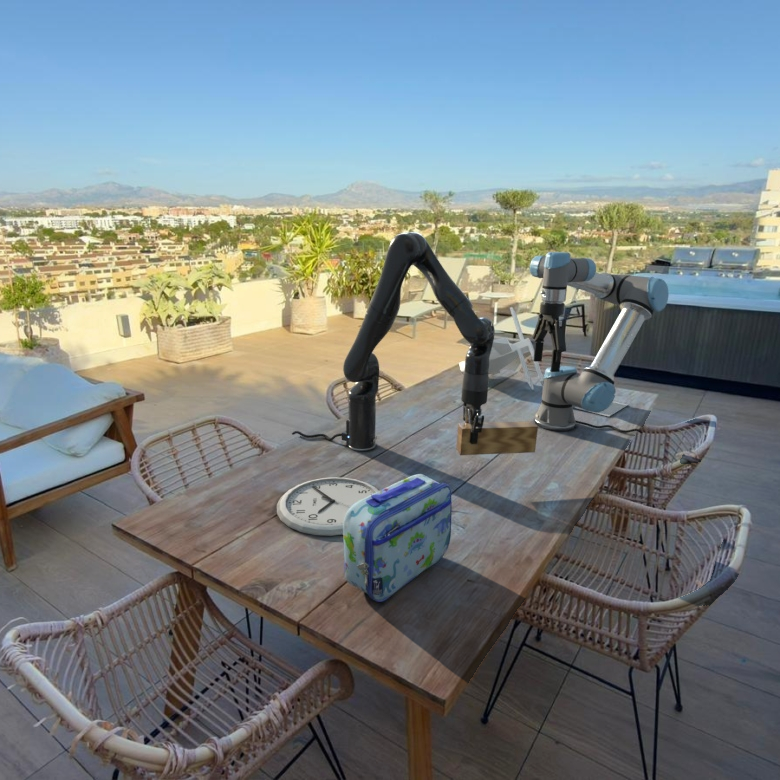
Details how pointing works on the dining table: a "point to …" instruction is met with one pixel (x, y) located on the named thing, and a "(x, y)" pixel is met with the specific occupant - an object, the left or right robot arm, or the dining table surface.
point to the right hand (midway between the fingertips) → (545, 366)
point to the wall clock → (321, 504)
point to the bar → (498, 438)
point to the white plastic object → (510, 354)
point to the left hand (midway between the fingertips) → (470, 439)
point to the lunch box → (396, 535)
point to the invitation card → (609, 409)
